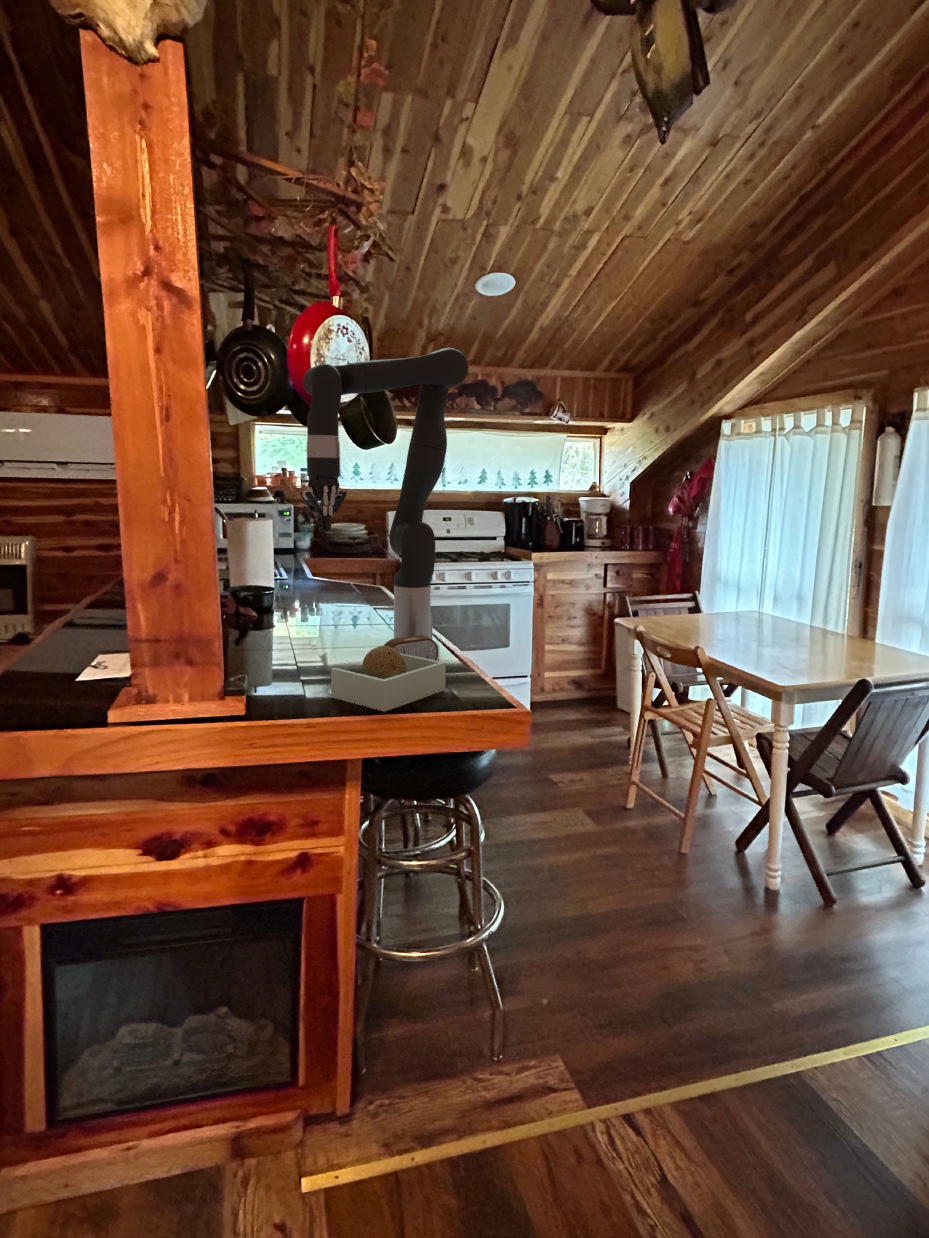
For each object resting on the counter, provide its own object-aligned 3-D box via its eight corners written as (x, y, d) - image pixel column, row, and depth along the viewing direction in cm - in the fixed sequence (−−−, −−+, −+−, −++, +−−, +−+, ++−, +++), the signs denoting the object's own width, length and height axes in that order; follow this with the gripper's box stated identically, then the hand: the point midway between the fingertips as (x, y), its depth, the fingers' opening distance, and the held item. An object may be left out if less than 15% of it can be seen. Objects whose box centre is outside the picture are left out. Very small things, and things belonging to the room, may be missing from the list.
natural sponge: (383, 684, 163) (383, 639, 161) (415, 691, 158) (415, 645, 156) (353, 693, 156) (353, 646, 154) (386, 701, 151) (386, 653, 149)
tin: (432, 667, 178) (432, 632, 177) (440, 670, 176) (440, 634, 174) (377, 676, 169) (377, 639, 168) (385, 679, 167) (385, 642, 165)
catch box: (393, 678, 168) (393, 651, 167) (445, 690, 160) (445, 662, 159) (331, 697, 153) (330, 668, 152) (384, 711, 145) (384, 681, 144)
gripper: (312, 455, 166) (314, 534, 169) (355, 457, 176) (356, 531, 180) (290, 455, 170) (291, 532, 174) (333, 456, 181) (334, 529, 184)
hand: (324, 531), depth 177 cm, fingers closed
